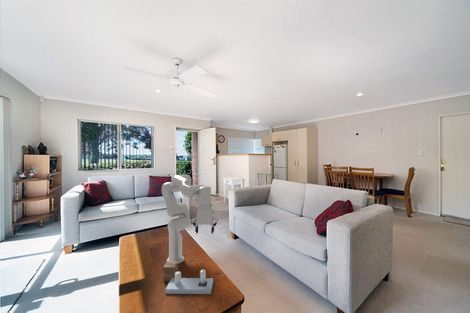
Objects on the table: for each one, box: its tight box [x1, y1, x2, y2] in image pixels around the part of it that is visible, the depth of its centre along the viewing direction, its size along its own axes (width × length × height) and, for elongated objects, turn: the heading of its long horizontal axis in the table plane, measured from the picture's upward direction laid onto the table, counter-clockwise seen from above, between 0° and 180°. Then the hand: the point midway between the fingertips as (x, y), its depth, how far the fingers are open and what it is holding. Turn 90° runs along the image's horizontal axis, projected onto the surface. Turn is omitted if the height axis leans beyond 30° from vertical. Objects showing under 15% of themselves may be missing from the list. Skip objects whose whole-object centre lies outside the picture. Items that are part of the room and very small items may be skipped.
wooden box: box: [162, 260, 179, 282], centre depth 118 cm, size 7×7×9 cm
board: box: [164, 271, 214, 295], centre depth 109 cm, size 10×26×8 cm, turn 90°
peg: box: [199, 268, 207, 286], centre depth 109 cm, size 3×3×10 cm
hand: (204, 232), depth 115 cm, fingers open, 9 cm apart
